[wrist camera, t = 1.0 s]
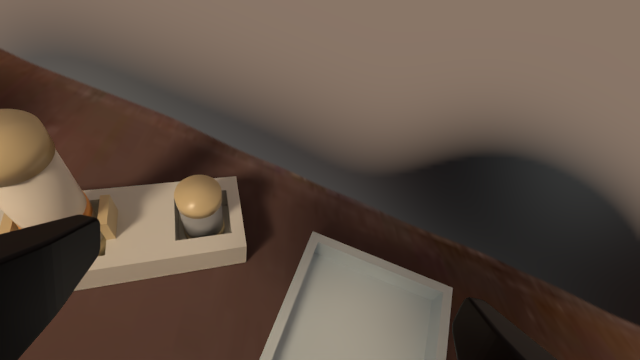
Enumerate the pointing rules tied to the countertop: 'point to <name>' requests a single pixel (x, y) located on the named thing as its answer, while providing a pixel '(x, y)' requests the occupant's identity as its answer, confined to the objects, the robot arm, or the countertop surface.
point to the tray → (358, 309)
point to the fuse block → (155, 234)
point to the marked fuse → (36, 175)
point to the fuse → (200, 206)
